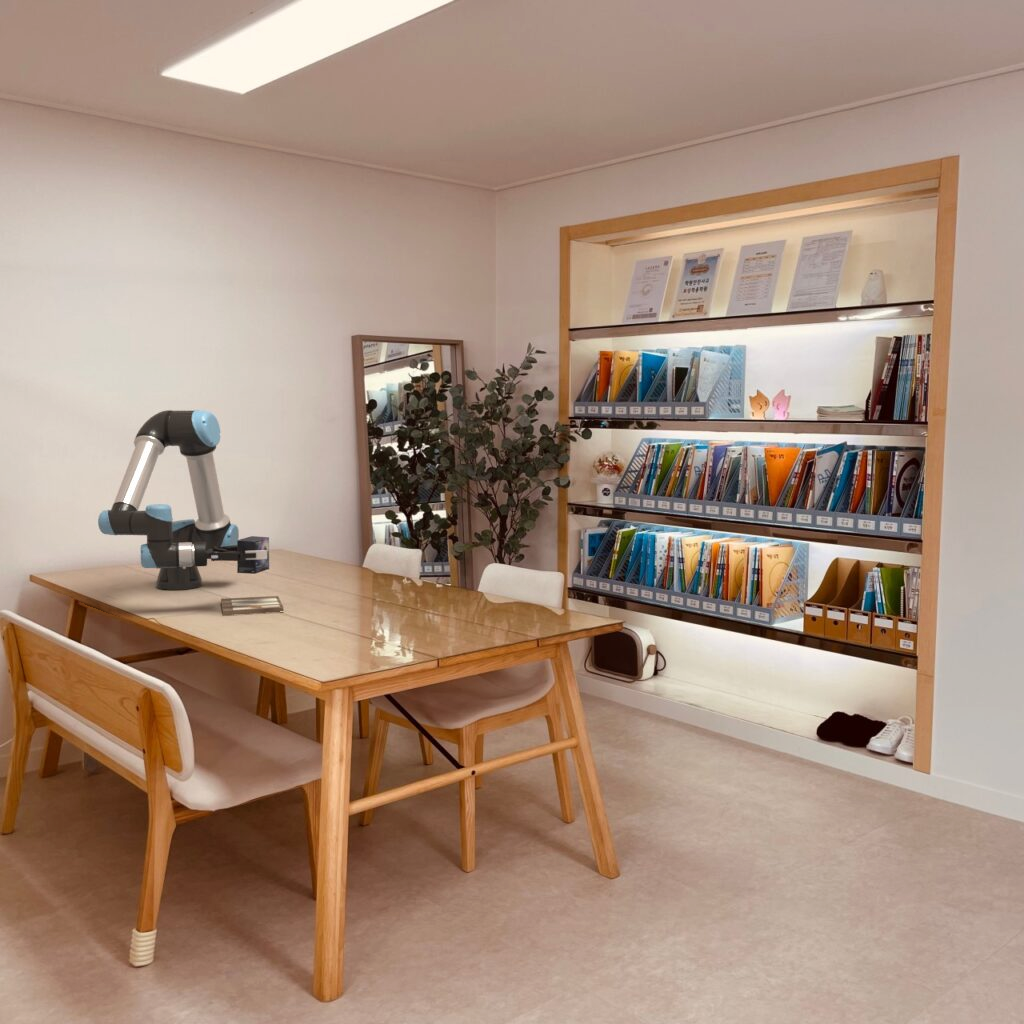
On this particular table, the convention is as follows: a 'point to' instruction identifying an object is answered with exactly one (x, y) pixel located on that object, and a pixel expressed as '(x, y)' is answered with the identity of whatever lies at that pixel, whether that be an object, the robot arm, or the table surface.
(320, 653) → the table surface
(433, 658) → the table surface
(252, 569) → the small box
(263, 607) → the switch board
